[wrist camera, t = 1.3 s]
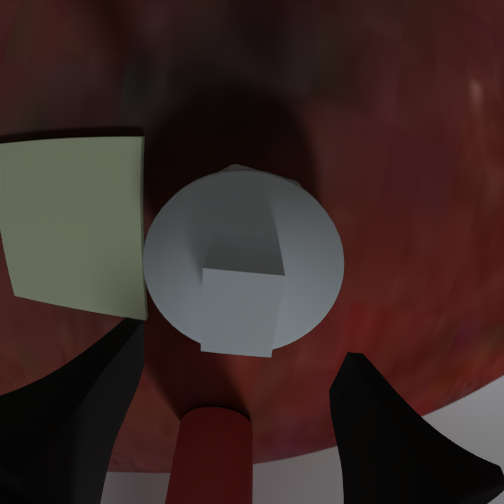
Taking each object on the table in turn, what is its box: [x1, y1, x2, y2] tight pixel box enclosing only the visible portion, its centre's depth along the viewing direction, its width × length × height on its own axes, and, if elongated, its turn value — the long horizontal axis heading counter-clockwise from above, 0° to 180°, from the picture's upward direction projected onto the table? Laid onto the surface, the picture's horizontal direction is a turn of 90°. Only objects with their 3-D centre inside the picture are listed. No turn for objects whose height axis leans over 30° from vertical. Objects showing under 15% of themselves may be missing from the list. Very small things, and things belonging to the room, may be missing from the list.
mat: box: [0, 136, 148, 320], centre depth 19 cm, size 12×12×1 cm
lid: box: [143, 169, 344, 357], centre depth 14 cm, size 10×10×4 cm
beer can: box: [165, 406, 253, 504], centre depth 21 cm, size 7×7×12 cm
